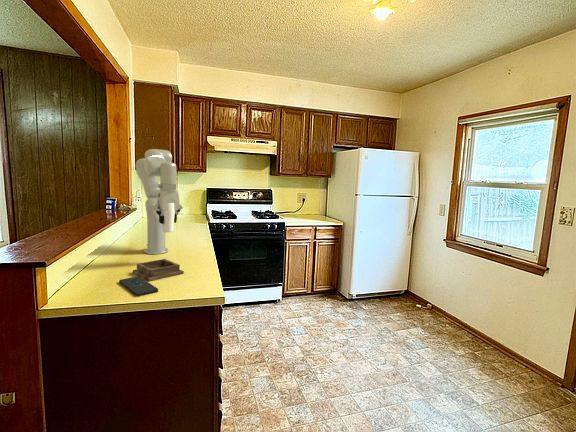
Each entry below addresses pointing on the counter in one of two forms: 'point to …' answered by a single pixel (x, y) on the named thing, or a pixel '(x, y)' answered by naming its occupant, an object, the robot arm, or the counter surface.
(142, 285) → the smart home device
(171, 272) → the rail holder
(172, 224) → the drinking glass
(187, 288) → the counter surface
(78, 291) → the counter surface
